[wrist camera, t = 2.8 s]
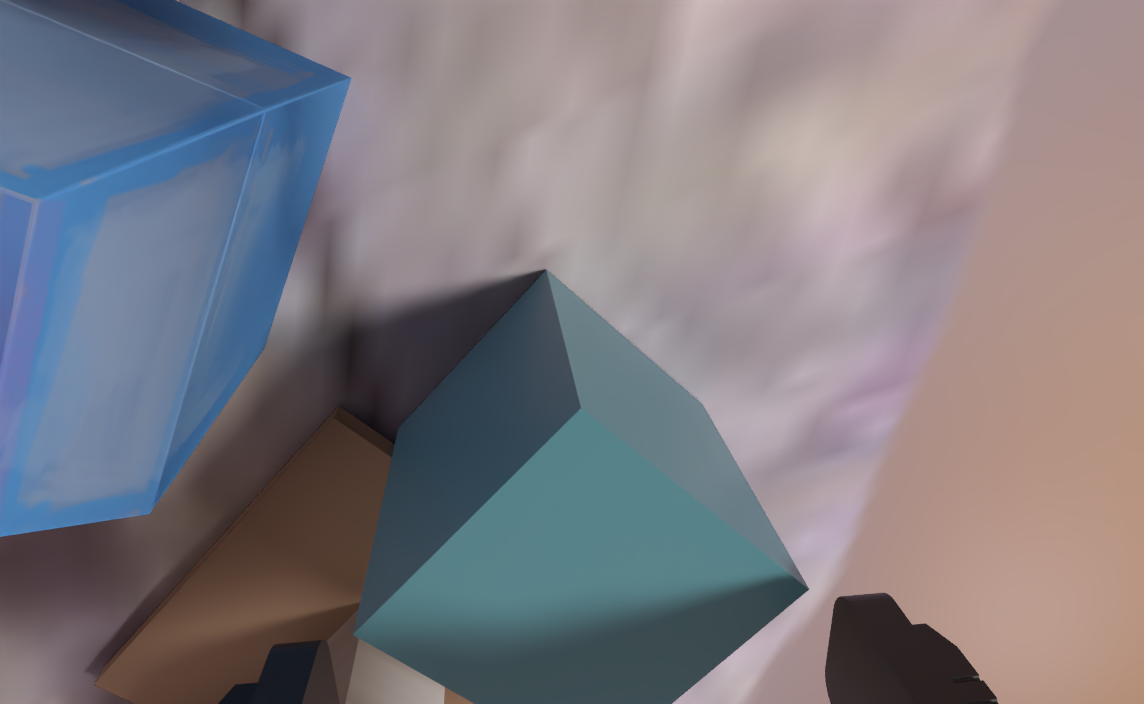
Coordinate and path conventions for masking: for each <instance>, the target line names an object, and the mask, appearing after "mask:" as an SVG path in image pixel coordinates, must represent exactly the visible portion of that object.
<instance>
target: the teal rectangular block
mask: <svg viewBox="0 0 1144 704" xmlns="http://www.w3.org/2000/svg"><path fill="white" fill-rule="evenodd" d="M808 590H809V588H808V586H807V585H806V583H805V581H804V579H803V578H802V576H801V574H800V573H799V571H798V569H797V567H796V566H795V564H794V562H793V560H792V559H791V557H790V555H789V553H788V552H787V550H786V548H785V546H784V545H783V543H782V541H781V540H780V538H779V536H778V534H777V533H776V531H775V529H774V527H773V526H772V524H771V522H770V520H769V519H768V517H767V515H766V513H765V512H764V510H763V508H762V507H761V505H760V503H759V501H758V500H757V498H756V496H755V494H754V493H753V491H752V489H751V487H750V486H749V484H748V482H747V481H746V479H745V477H744V475H743V474H742V472H741V470H740V468H739V467H738V465H737V463H736V461H735V460H734V458H733V456H732V454H731V453H730V451H729V449H728V448H727V446H726V444H725V442H724V441H723V439H722V437H721V435H720V434H719V432H718V430H717V428H716V427H715V425H714V423H713V421H712V420H711V418H710V416H709V415H708V413H707V411H706V409H705V408H704V406H703V404H702V403H700V402H699V401H698V400H697V399H696V398H695V397H693V396H692V395H691V394H690V393H689V392H688V391H687V390H685V389H684V388H683V387H682V386H681V385H680V384H678V383H677V382H676V381H675V380H674V379H673V378H672V377H670V376H669V375H668V374H667V373H666V372H665V371H663V370H662V369H661V368H660V367H659V366H658V365H656V364H655V363H654V362H653V361H652V360H651V359H650V358H648V357H647V356H646V355H645V354H644V353H643V352H641V351H640V350H639V349H638V348H637V347H636V346H634V345H633V344H632V343H631V342H630V341H629V340H628V339H626V338H625V337H624V336H623V335H622V334H621V333H619V332H618V331H617V330H616V329H615V328H614V327H612V326H611V325H610V324H609V323H608V322H607V321H606V320H604V319H603V318H602V317H601V316H600V315H599V314H597V313H596V312H595V311H594V310H593V309H592V308H590V307H589V306H588V305H587V304H586V303H585V302H584V301H582V300H581V299H580V298H579V297H578V296H577V295H575V294H574V293H573V292H572V291H571V290H570V289H568V288H567V287H566V286H565V285H564V284H563V283H562V282H560V281H559V280H558V279H557V278H556V277H555V276H553V275H552V274H551V273H550V272H549V271H548V270H545V271H544V272H543V274H542V275H541V276H540V277H539V278H538V279H537V280H536V281H535V282H534V283H533V284H532V285H531V286H530V287H529V289H528V290H527V291H526V292H525V293H524V294H523V295H522V296H521V297H520V298H519V299H518V300H517V301H516V302H515V304H514V305H513V306H512V307H511V308H510V309H509V310H508V311H507V312H506V313H505V314H504V315H503V316H502V317H501V319H500V320H499V321H498V322H497V323H496V324H495V325H494V326H493V327H492V328H491V329H490V330H489V331H488V332H487V334H486V335H485V336H484V337H483V338H482V339H481V340H480V341H479V342H478V343H477V344H476V345H475V346H474V347H473V349H472V350H471V351H470V352H469V353H468V354H467V355H466V356H465V357H464V358H463V359H462V360H461V361H460V362H459V364H458V365H457V366H456V367H455V368H454V369H453V370H452V371H451V372H450V373H449V374H448V375H447V376H446V377H445V379H444V380H443V381H442V382H441V383H440V384H439V385H438V386H437V387H436V388H435V389H434V390H433V391H432V392H431V394H430V395H429V396H428V397H427V398H426V399H425V400H424V401H423V402H422V403H421V404H420V405H419V406H418V407H417V409H416V410H415V411H414V412H413V413H412V414H411V415H410V416H409V417H408V418H407V419H406V420H405V421H404V422H403V424H402V425H401V426H400V427H399V428H398V432H397V436H396V441H395V445H394V450H393V454H392V459H391V464H390V468H389V473H388V477H387V482H386V486H385V491H384V495H383V500H382V505H381V509H380V514H379V518H378V523H377V527H376V532H375V536H374V541H373V546H372V550H371V555H370V559H369V564H368V568H367V573H366V578H365V582H364V587H363V591H362V596H361V600H360V605H359V609H358V614H357V619H356V623H355V628H354V632H353V635H354V636H356V637H358V638H359V639H361V640H363V641H365V642H366V643H368V644H370V645H372V646H373V647H375V648H377V649H379V650H380V651H382V652H384V653H386V654H388V655H389V656H391V657H393V658H395V659H396V660H398V661H400V662H402V663H403V664H405V665H407V666H409V667H410V668H412V669H414V670H416V671H417V672H419V673H421V674H423V675H425V676H426V677H428V678H430V679H432V680H433V681H435V682H437V683H439V684H440V685H442V686H444V687H446V688H447V689H449V690H451V691H453V692H454V693H456V694H458V695H460V696H462V697H463V698H465V699H467V700H469V701H470V702H472V703H474V704H672V703H673V702H674V701H675V700H677V699H678V698H679V697H680V696H681V695H683V694H684V693H685V692H686V691H687V690H689V689H690V688H691V687H692V686H693V685H695V684H696V683H697V682H698V681H699V680H701V679H702V678H703V677H704V676H705V675H707V674H708V673H709V672H710V671H711V670H713V669H714V668H715V667H716V666H717V665H719V664H720V663H721V662H722V661H724V660H725V659H726V658H727V657H728V656H730V655H731V654H732V653H733V652H734V651H736V650H737V649H738V648H739V647H740V646H742V645H743V644H744V643H745V642H746V641H748V640H749V639H750V638H751V637H752V636H754V635H755V634H756V633H757V632H758V631H760V630H761V629H762V628H763V627H764V626H766V625H767V624H768V623H769V622H770V621H772V620H773V619H774V618H775V617H776V616H778V615H779V614H780V613H781V612H782V611H784V610H785V609H786V608H787V607H788V606H790V605H791V604H792V603H793V602H794V601H796V600H797V599H798V598H799V597H800V596H802V595H803V594H804V593H805V592H806V591H808Z"/></svg>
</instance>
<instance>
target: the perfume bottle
mask: <svg viewBox="0 0 1144 704" xmlns="http://www.w3.org/2000/svg"><path fill="white" fill-rule="evenodd" d="M350 81H351V78H350V77H348V76H346V75H343V74H341V73H339V72H336V71H334V70H332V69H330V68H327V67H325V66H323V65H321V64H318V63H316V62H314V61H311V60H309V59H307V58H305V57H302V56H300V55H298V54H296V53H293V52H291V51H289V50H286V49H284V48H282V47H280V46H277V45H275V44H273V43H271V42H268V41H266V40H264V39H261V38H259V37H257V36H255V35H252V34H250V33H248V32H246V31H243V30H241V29H239V28H236V27H234V26H232V25H230V24H227V23H225V22H223V21H221V20H218V19H216V18H214V17H211V16H209V15H207V14H205V13H202V12H200V11H198V10H196V9H193V8H191V7H189V6H186V5H184V4H182V3H180V2H177V1H175V0H0V537H3V536H9V535H16V534H22V533H29V532H35V531H42V530H49V529H55V528H62V527H68V526H75V525H81V524H88V523H94V522H101V521H107V520H114V519H121V518H127V517H134V516H140V515H147V514H150V513H151V511H152V510H153V508H154V507H155V506H156V504H157V503H158V501H159V500H160V498H161V497H162V495H163V494H164V493H165V491H166V490H167V488H168V487H169V485H170V484H171V483H172V481H173V480H174V478H175V477H176V475H177V474H178V472H179V471H180V470H181V468H182V467H183V465H184V464H185V462H186V461H187V459H188V458H189V457H190V455H191V454H192V452H193V451H194V449H195V448H196V446H197V445H198V444H199V442H200V441H201V439H202V438H203V436H204V435H205V433H206V432H207V431H208V429H209V428H210V426H211V425H212V423H213V422H214V420H215V419H216V418H217V416H218V415H219V413H220V412H221V410H222V409H223V407H224V406H225V405H226V403H227V402H228V400H229V399H230V397H231V396H232V394H233V393H234V392H235V390H236V389H237V387H238V386H239V384H240V383H241V381H242V380H243V379H244V377H245V376H246V374H247V373H248V371H249V370H250V368H251V367H252V366H253V364H254V363H255V361H256V360H257V358H258V357H259V355H260V354H261V353H262V351H263V350H264V347H265V344H266V341H267V338H268V335H269V332H270V329H271V326H272V322H273V319H274V316H275V313H276V310H277V307H278V304H279V301H280V298H281V295H282V291H283V288H284V285H285V282H286V279H287V276H288V273H289V270H290V267H291V264H292V260H293V257H294V254H295V251H296V248H297V245H298V242H299V239H300V236H301V233H302V229H303V226H304V223H305V220H306V217H307V214H308V211H309V208H310V205H311V202H312V198H313V195H314V192H315V189H316V186H317V183H318V180H319V177H320V174H321V171H322V167H323V164H324V161H325V158H326V155H327V152H328V149H329V146H330V143H331V140H332V137H333V133H334V130H335V127H336V124H337V121H338V118H339V115H340V112H341V109H342V106H343V102H344V99H345V96H346V93H347V90H348V87H349V84H350Z"/></svg>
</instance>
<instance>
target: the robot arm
mask: <svg viewBox="0 0 1144 704" xmlns="http://www.w3.org/2000/svg"><path fill="white" fill-rule="evenodd" d="M825 678H826V687H827V691H828V696H829V699H830V702H831V704H998V702H997V698H996V696H995V695H994V694H993V693H992V691H991V690H990V689H989V687H988V686H987V685H986V684H985V682H984V681H983V680H982V681H980V679H979V674H978V673H977V672H976V670H975V669H974V668H973V667H972V665H971V664H970V663H969V662H968V660H967V659H966V658H965V656H964V655H963V654H962V652H961V651H960V650H959V649H958V647H957V646H955V645H954V644H953V643H951V642H950V641H949V640H947V639H946V638H945V637H943V636H942V635H940V634H939V633H938V632H936V631H935V630H934V629H932V628H931V627H930V626H928V625H927V624H916V625H912V624H911V623H910V621H909V620H908V619H907V617H906V616H905V614H904V613H903V612H902V610H901V609H900V608H899V606H898V605H897V603H896V602H895V601H894V599H893V598H892V597H891V596H890V595H888V594H886V593H876V594H864V595H853V596H842V597H839V598H837V600H836V601H835V604H834V609H833V617H832V624H831V631H830V638H829V646H828V652H827V660H826V667H825ZM218 704H340V703H339V698H338V692H337V687H336V682H335V676H334V671H333V666H332V660H331V655H330V650H329V646H328V643H327V641H326V640H315V641H304V642H292V643H281V644H275V645H273V646H272V648H271V649H270V652H269V654H268V656H267V659H266V662H265V665H264V667H263V670H262V673H261V675H260V678H259V681H258V682H257V683H246V684H235V685H234V686H233V687H232V689H231V690H230V691H229V692H228V693H227V694H226V695H225V696H224V698H223V699H222V700H221V701H220V702H219V703H218Z"/></svg>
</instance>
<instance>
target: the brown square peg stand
mask: <svg viewBox="0 0 1144 704" xmlns="http://www.w3.org/2000/svg"><path fill="white" fill-rule="evenodd" d="M394 445H395V444H393V443H392V442H391V441H389V440H388V439H386V438H385V437H383V436H382V435H380V434H379V433H378V432H376V431H375V430H373V429H372V428H370V427H369V426H367V425H366V424H364V423H363V422H362V421H360V420H359V419H357V418H356V417H354V416H353V415H351V414H350V413H349V412H347V411H346V410H344V409H343V408H341V407H340V406H338V407H337V408H336V409H335V410H334V412H333V413H332V414H331V415H330V416H329V417H328V418H327V419H326V420H325V422H324V423H323V424H322V425H321V426H320V427H319V428H318V429H317V430H316V432H315V433H314V434H313V435H312V436H311V437H310V438H309V439H308V440H307V442H306V443H305V444H304V445H303V446H302V447H301V448H300V449H299V450H298V452H297V453H296V454H295V455H294V456H293V457H292V458H291V459H290V461H289V462H288V463H287V464H286V465H285V466H284V467H283V468H282V469H281V471H280V472H279V473H278V474H277V475H276V476H275V477H274V478H273V479H272V481H271V482H270V483H269V484H268V485H267V486H266V487H265V488H264V489H263V491H262V492H261V493H260V494H259V495H258V496H257V497H256V498H255V499H254V501H253V502H252V503H251V504H250V505H249V506H248V507H247V508H246V510H245V511H244V512H243V513H242V514H241V515H240V516H239V517H238V518H237V520H236V521H235V522H234V523H233V524H232V525H231V526H230V527H229V528H228V530H227V531H226V532H225V533H224V534H223V535H222V536H221V537H220V538H219V540H218V541H217V542H216V543H215V544H214V545H213V546H212V547H211V548H210V550H209V551H208V552H207V553H206V554H205V555H204V556H203V557H202V559H201V560H200V561H199V562H198V563H197V564H196V565H195V566H194V567H193V569H192V570H191V571H190V572H189V573H188V574H187V575H186V576H185V577H184V579H183V580H182V581H181V582H180V583H179V584H178V585H177V586H176V587H175V589H174V590H173V591H172V592H171V593H170V594H169V595H168V596H167V597H166V599H165V600H164V601H163V602H162V603H161V604H160V605H159V606H158V608H157V609H156V610H155V611H154V612H153V613H152V614H151V615H150V616H149V618H148V619H147V620H146V621H145V622H144V623H143V624H142V625H141V626H140V628H139V629H138V630H137V631H136V632H135V633H134V634H133V635H132V636H131V638H130V639H129V640H128V641H127V642H126V643H125V644H124V645H123V646H122V648H121V649H120V650H119V651H118V652H117V653H116V654H115V655H114V657H113V658H112V659H111V660H110V661H109V662H108V663H107V664H106V665H105V667H104V668H103V670H102V672H101V673H100V675H99V677H98V678H97V680H96V682H95V683H94V685H95V686H97V687H99V688H102V689H104V690H106V691H108V692H110V693H112V694H114V695H116V696H118V697H121V698H123V699H125V700H127V701H129V702H131V703H133V704H218V703H219V702H220V701H221V700H222V699H223V698H224V696H225V695H226V694H227V693H228V692H229V691H230V690H231V689H232V687H233V686H234V685H235V684H246V683H257V682H258V681H259V678H260V675H261V673H262V670H263V667H264V665H265V662H266V659H267V656H268V654H269V652H270V649H271V648H272V646H273V645H275V644H281V643H292V642H304V641H315V640H326V641H327V643H328V646H329V650H330V655H331V660H332V666H333V671H334V676H335V682H336V687H337V692H338V698H339V703H340V704H474V703H472V702H470V701H469V700H467V699H465V698H463V697H462V696H460V695H458V694H456V693H454V692H453V691H451V690H449V689H447V688H446V687H444V686H442V685H440V684H439V683H437V682H435V681H433V680H432V679H430V678H428V677H426V676H425V675H423V674H421V673H419V672H417V671H416V670H414V669H412V668H410V667H409V666H407V665H405V664H403V663H402V662H400V661H398V660H396V659H395V658H393V657H391V656H389V655H388V654H386V653H384V652H382V651H380V650H379V649H377V648H375V647H373V646H372V645H370V644H368V643H366V642H365V641H363V640H361V639H359V638H358V637H356V636H354V635H353V632H354V628H355V623H356V619H357V614H358V609H359V605H360V600H361V596H362V591H363V587H364V582H365V578H366V573H367V568H368V564H369V559H370V555H371V550H372V546H373V541H374V536H375V532H376V527H377V523H378V518H379V514H380V509H381V505H382V500H383V495H384V491H385V486H386V482H387V477H388V473H389V468H390V464H391V459H392V454H393V450H394Z"/></svg>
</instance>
